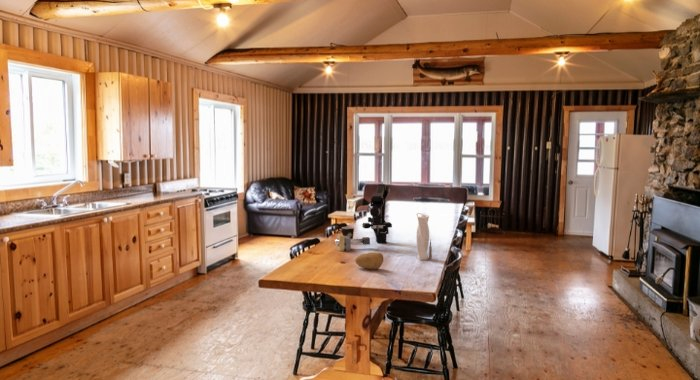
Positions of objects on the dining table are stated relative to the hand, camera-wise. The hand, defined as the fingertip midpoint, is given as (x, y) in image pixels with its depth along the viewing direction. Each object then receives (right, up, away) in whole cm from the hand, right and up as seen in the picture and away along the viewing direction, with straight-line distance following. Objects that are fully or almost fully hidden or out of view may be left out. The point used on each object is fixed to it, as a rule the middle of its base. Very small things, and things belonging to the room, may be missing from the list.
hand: (377, 238), depth 306 cm
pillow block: (-20, -7, -4) cm, 21 cm away
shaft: (-16, -4, -3) cm, 17 cm away
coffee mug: (-21, -5, +19) cm, 29 cm away
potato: (-7, -12, -51) cm, 53 cm away
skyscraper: (+26, -10, -29) cm, 40 cm away
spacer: (-24, -7, -5) cm, 25 cm away
